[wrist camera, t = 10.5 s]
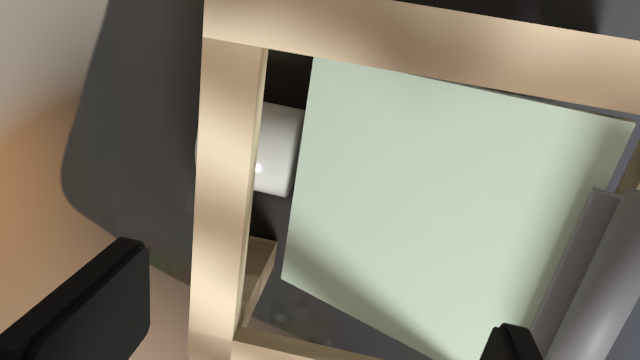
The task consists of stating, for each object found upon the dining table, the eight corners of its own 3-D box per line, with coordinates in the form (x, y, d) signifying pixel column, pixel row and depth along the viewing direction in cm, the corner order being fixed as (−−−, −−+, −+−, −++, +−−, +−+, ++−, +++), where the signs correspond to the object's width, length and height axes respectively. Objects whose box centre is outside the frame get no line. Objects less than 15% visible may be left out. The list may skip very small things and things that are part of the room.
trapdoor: (324, 53, 20) (287, 52, 17) (702, 134, 14) (734, 152, 11) (290, 271, 25) (257, 296, 22) (558, 408, 18) (555, 467, 16)
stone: (310, 107, 25) (234, 91, 26) (295, 113, 20) (201, 93, 21) (295, 185, 27) (223, 169, 27) (278, 208, 22) (190, 188, 22)
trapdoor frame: (276, -7, 23) (205, -31, 14) (599, 47, 22) (763, 61, 12) (247, 259, 30) (187, 363, 20) (494, 313, 28) (549, 451, 19)
